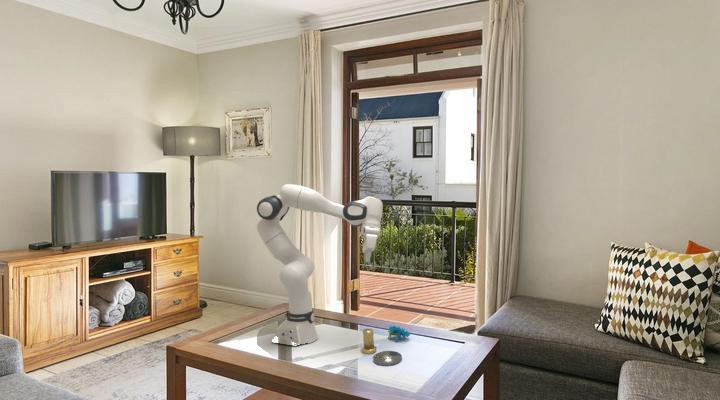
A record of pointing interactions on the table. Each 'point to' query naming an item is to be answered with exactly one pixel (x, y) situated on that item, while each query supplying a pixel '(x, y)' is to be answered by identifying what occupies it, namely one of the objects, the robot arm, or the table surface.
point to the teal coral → (397, 332)
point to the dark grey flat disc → (387, 358)
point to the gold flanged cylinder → (368, 342)
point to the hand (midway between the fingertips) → (366, 261)
